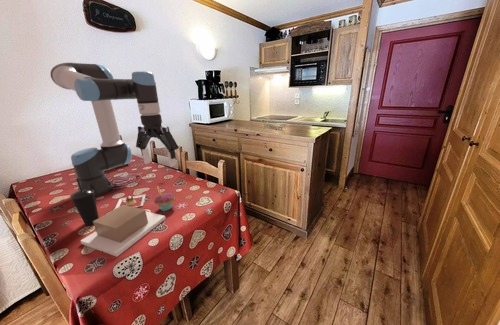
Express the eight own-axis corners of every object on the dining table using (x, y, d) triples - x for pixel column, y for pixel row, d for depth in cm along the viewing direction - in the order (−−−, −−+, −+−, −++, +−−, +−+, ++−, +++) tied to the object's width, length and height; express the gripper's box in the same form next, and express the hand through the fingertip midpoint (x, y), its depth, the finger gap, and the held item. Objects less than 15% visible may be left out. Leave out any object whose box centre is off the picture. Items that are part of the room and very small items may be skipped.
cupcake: (157, 215, 89) (151, 190, 85) (155, 206, 96) (150, 183, 92) (177, 209, 92) (173, 185, 88) (174, 201, 99) (170, 178, 95)
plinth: (81, 243, 73) (75, 226, 70) (134, 211, 92) (130, 196, 90) (117, 256, 67) (111, 238, 64) (165, 218, 86) (162, 203, 83)
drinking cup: (88, 217, 88) (73, 175, 82) (107, 216, 89) (93, 174, 82) (76, 228, 81) (58, 183, 75) (96, 227, 82) (80, 182, 75)
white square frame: (119, 200, 103) (117, 192, 101) (146, 196, 107) (144, 187, 105) (114, 213, 92) (111, 204, 91) (143, 207, 96) (141, 198, 94)
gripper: (118, 115, 82) (131, 164, 89) (169, 115, 73) (178, 170, 81) (134, 113, 88) (144, 159, 95) (182, 113, 80) (189, 163, 87)
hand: (160, 164), depth 88 cm, fingers open, 13 cm apart
